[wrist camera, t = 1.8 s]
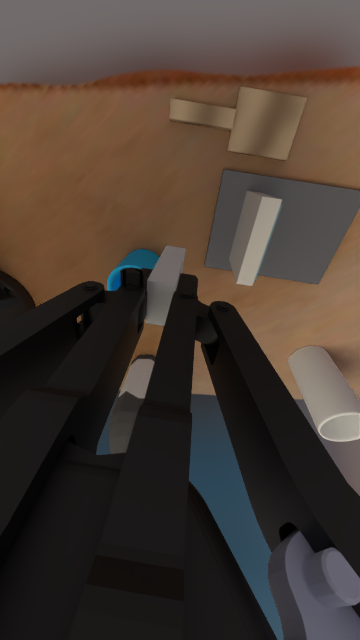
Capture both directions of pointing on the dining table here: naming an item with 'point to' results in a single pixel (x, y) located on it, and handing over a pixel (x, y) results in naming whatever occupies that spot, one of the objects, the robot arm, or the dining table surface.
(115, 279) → the mug
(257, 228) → the tile
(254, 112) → the turner
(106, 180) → the dining table surface
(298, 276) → the mat
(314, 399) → the cup
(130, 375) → the wine bottle
